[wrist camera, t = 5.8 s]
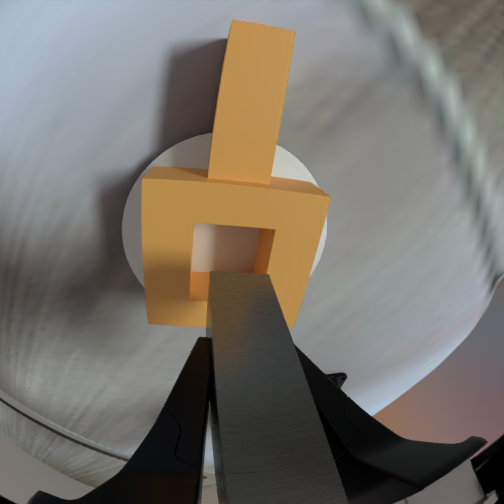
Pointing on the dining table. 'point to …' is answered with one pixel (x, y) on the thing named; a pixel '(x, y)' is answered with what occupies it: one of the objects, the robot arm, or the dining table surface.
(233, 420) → the dark grey post
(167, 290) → the bracket
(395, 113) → the dining table surface
